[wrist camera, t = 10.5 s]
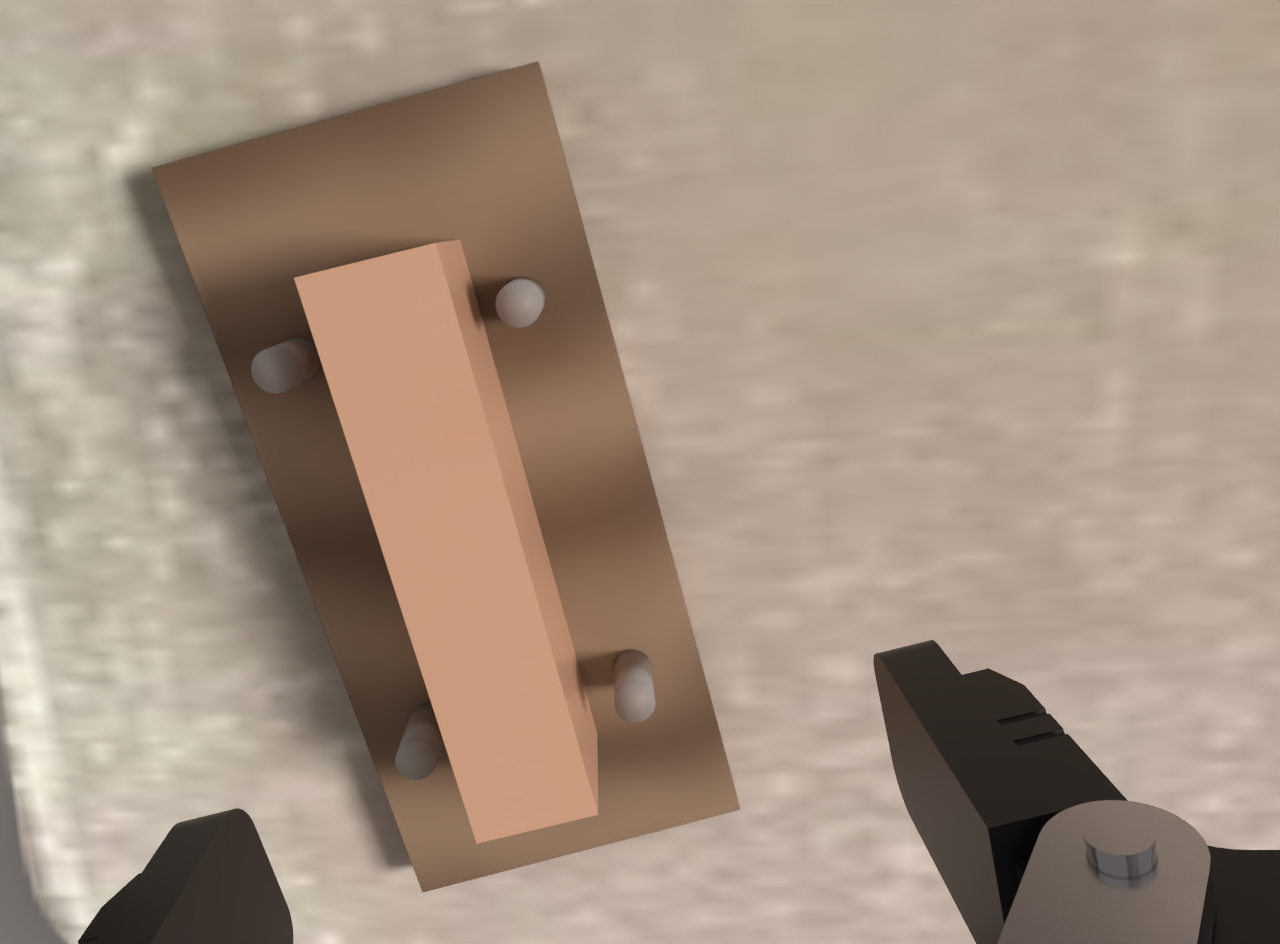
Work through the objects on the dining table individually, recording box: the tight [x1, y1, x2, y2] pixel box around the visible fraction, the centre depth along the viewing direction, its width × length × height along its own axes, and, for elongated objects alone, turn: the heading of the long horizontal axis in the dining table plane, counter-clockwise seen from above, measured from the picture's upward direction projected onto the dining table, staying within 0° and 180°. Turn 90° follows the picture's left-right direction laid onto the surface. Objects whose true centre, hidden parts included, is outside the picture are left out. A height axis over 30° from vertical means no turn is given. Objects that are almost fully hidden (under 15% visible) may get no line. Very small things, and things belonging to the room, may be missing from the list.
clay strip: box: [294, 240, 598, 844], centre depth 28 cm, size 16×4×4 cm, turn 13°
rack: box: [152, 62, 740, 892], centre depth 29 cm, size 24×11×4 cm, turn 15°
